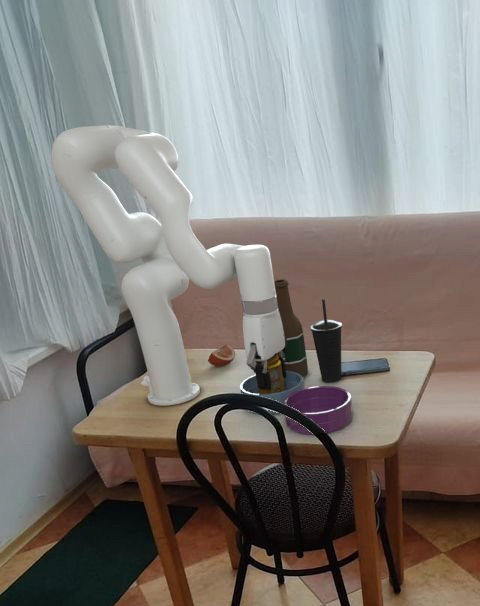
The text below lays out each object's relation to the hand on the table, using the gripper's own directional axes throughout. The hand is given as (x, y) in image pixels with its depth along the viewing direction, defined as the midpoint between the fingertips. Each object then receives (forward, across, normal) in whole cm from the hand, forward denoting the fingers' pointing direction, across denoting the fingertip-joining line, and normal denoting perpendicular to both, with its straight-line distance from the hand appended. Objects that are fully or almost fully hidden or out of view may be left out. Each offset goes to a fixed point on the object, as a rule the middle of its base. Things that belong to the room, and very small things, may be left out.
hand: (272, 382), depth 144 cm
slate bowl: (+5, 0, 0) cm, 5 cm away
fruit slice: (+5, -18, -27) cm, 33 cm away
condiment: (+5, +1, 0) cm, 5 cm away
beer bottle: (+5, -16, -4) cm, 17 cm away
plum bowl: (+5, +6, +15) cm, 17 cm away
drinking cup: (+5, -16, +7) cm, 18 cm away
